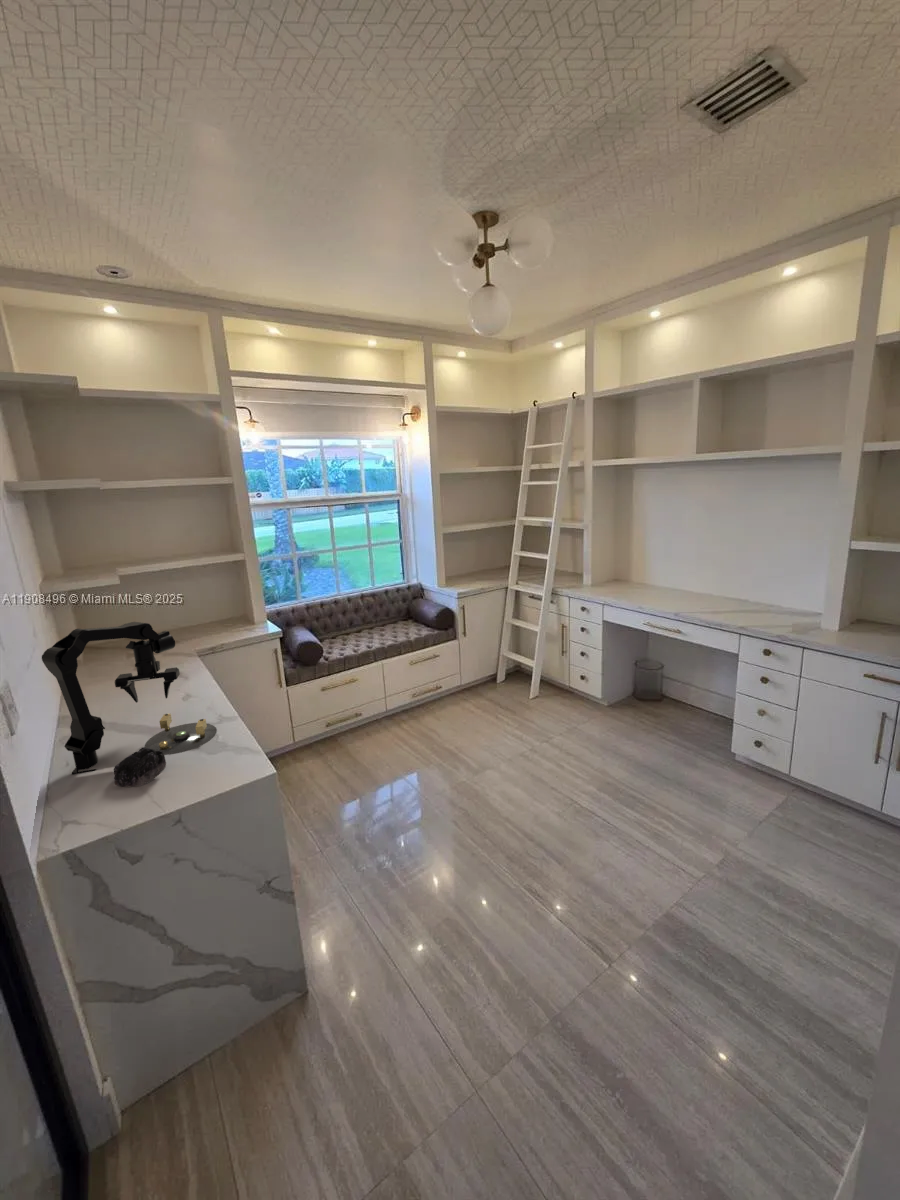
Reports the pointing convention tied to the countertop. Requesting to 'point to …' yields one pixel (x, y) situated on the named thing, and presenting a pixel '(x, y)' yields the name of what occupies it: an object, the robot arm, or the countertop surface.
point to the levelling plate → (180, 739)
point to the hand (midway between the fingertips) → (152, 700)
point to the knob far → (165, 722)
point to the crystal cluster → (139, 768)
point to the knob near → (201, 727)
